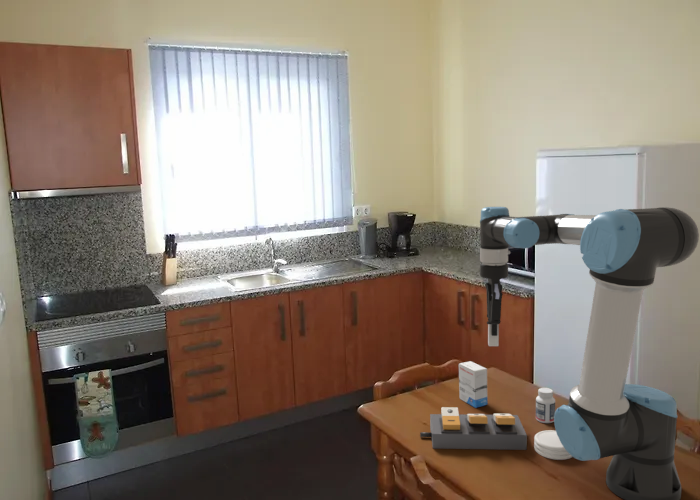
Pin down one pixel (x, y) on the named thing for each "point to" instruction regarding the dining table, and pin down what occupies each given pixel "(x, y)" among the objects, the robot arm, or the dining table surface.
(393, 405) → the dining table surface
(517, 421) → the rocker switch panel
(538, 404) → the pill bottle
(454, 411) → the rocker
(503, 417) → the block
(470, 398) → the ink box
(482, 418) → the rocker
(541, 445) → the coaster
